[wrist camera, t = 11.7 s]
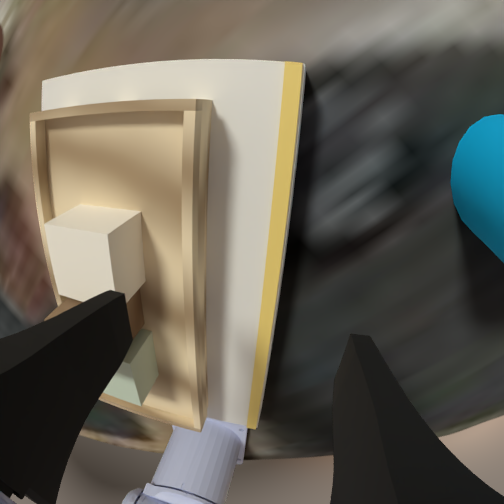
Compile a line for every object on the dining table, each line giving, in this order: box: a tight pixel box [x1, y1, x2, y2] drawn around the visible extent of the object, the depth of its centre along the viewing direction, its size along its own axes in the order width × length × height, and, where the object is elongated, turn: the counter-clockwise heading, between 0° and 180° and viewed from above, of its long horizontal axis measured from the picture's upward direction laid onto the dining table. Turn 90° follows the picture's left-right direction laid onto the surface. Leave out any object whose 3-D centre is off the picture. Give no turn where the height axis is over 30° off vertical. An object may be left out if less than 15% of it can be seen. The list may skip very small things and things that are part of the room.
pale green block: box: [103, 329, 159, 406], centre depth 18 cm, size 4×4×3 cm
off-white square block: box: [44, 204, 146, 303], centre depth 15 cm, size 4×4×3 cm
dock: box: [42, 59, 306, 429], centre depth 20 cm, size 26×16×3 cm, turn 176°
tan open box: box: [30, 99, 212, 433], centre depth 16 cm, size 22×10×7 cm, turn 176°
